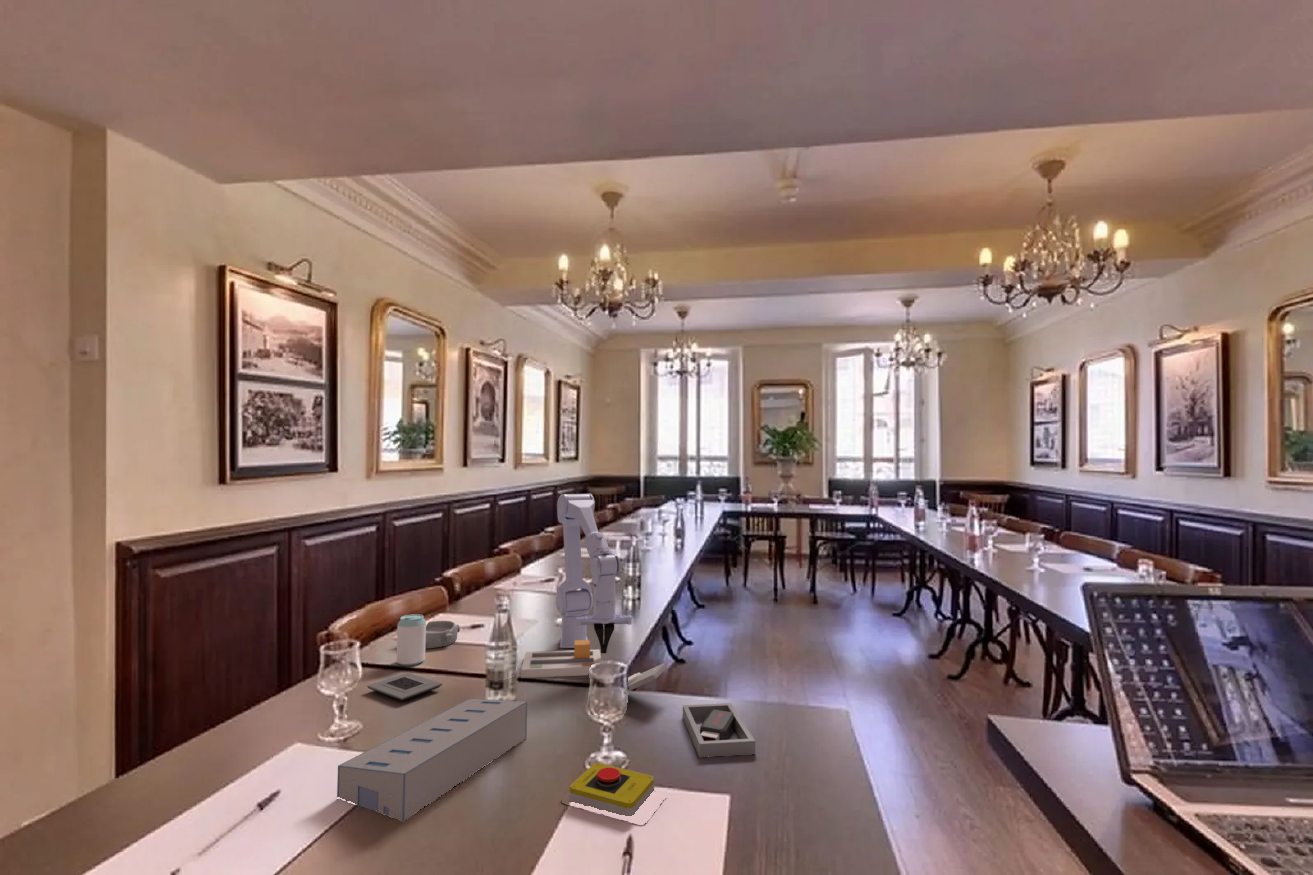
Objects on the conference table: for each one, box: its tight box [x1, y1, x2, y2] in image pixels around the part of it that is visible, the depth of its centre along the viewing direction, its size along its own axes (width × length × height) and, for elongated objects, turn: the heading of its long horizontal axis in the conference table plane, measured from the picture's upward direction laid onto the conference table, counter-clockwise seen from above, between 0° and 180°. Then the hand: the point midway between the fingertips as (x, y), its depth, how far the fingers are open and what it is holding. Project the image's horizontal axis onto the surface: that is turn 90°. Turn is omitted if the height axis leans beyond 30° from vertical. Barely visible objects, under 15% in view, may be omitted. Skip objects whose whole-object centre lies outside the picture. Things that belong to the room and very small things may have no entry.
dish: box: [425, 620, 461, 649], centre depth 178 cm, size 14×14×5 cm
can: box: [396, 613, 427, 667], centre depth 161 cm, size 7×7×12 cm
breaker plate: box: [520, 648, 602, 679], centre depth 158 cm, size 14×20×3 cm
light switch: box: [627, 662, 668, 692], centre depth 137 cm, size 8×6×14 cm
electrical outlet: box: [366, 672, 443, 702], centre depth 140 cm, size 13×10×2 cm
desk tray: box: [682, 702, 756, 759], centre depth 120 cm, size 18×10×2 cm, turn 8°
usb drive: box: [699, 710, 735, 741], centre depth 120 cm, size 5×12×3 cm, turn 159°
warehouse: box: [336, 698, 528, 823], centre depth 107 cm, size 30×14×8 cm, turn 155°
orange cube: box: [573, 639, 591, 658], centre depth 159 cm, size 4×4×4 cm
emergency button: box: [568, 762, 655, 816], centre depth 97 cm, size 9×4×15 cm
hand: (603, 652), depth 160 cm, fingers closed
